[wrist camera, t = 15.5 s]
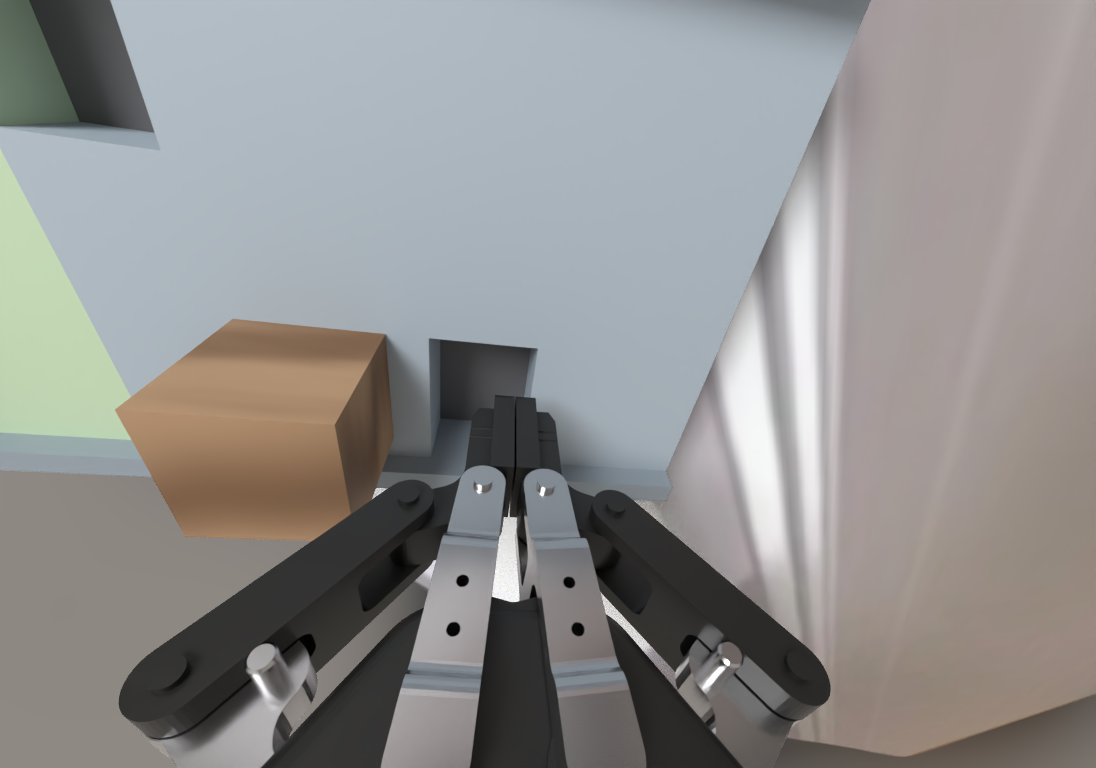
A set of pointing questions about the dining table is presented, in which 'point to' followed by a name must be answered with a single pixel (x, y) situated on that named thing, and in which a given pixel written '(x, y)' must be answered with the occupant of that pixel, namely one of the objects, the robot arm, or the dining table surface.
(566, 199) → the tray
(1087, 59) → the dining table surface
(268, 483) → the block
